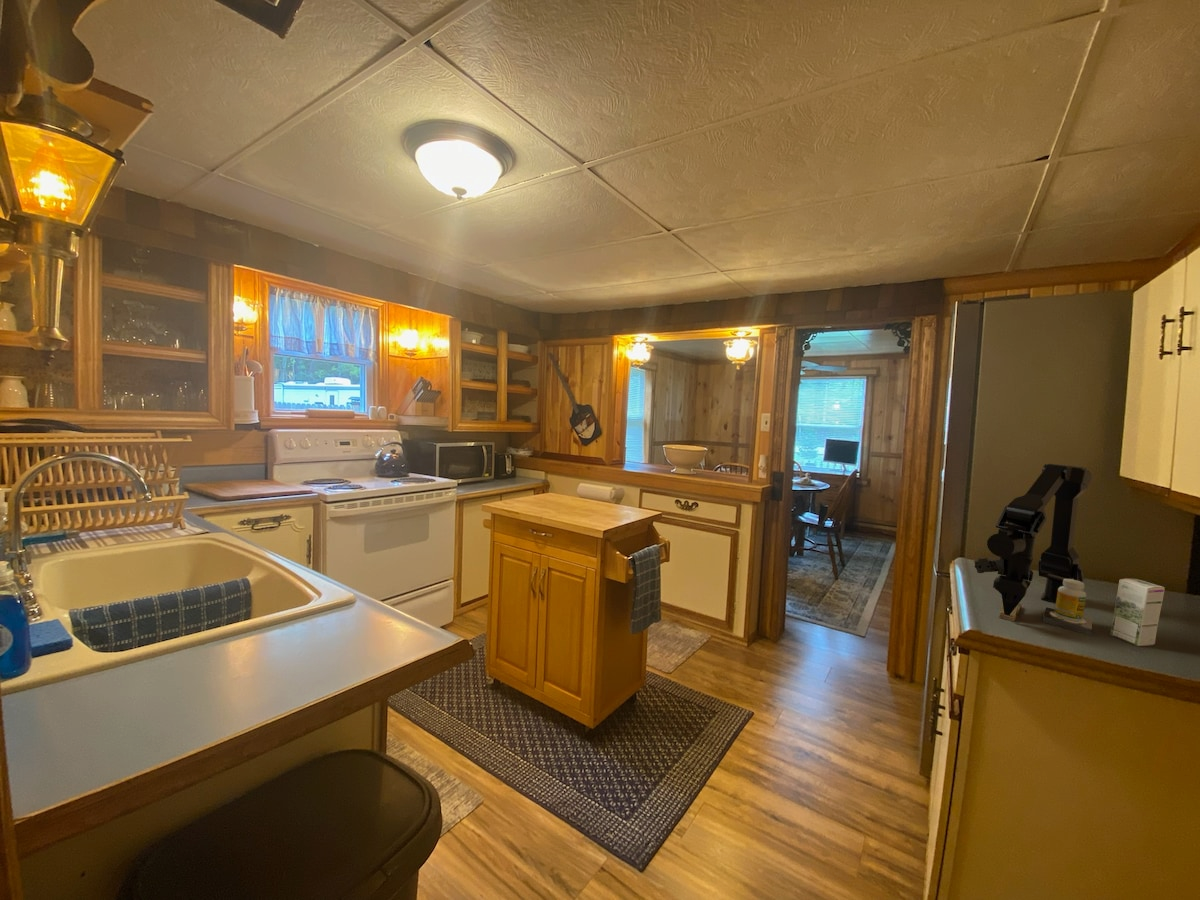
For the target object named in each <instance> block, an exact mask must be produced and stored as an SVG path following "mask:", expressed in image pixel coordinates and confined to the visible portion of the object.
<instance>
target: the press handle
mask: <svg viewBox="0 0 1200 900" xmlns="http://www.w3.org/2000/svg"><path fill="white" fill-rule="evenodd" d="M1001 601H1002V600H1001ZM1017 609H1018V605H1017V606H1016V608H1015V609H1014V610H1013V611H1012V613H1011V614H1010V616H1014V617H1015V616H1016V614H1017ZM1000 613H1003V614H1004V608H1003V601H1002V602H1001V606H1000Z"/></svg>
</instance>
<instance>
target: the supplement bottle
mask: <svg viewBox="0 0 1200 900" xmlns="http://www.w3.org/2000/svg"><path fill="white" fill-rule="evenodd" d="M1063 585H1064V586H1061V587H1059V588H1058V593H1057V600H1056V603H1055V605H1054V606H1055V607H1054V609H1055V612H1054V613H1055V614H1056V615H1057V616H1059V617H1061V618H1063V619H1067V620H1071V621H1081V620H1082V618H1083V617H1084V611H1085V606H1086V601H1087V593H1086V592H1085V590H1084V589H1085V585H1086V584H1085V583H1084V582H1080V581H1077V580H1073V579H1063Z"/></svg>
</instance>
